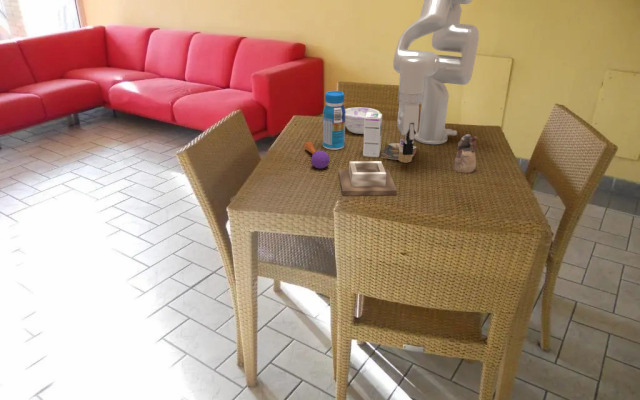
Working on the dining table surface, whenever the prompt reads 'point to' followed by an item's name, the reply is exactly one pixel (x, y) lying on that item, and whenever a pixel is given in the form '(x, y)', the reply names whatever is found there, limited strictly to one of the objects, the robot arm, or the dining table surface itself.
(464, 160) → the figurine
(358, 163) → the socket board
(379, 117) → the syrup box
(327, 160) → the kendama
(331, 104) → the beverage bottle
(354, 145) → the dining table surface
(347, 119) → the paper bowls
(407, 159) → the sprinkles bottle
